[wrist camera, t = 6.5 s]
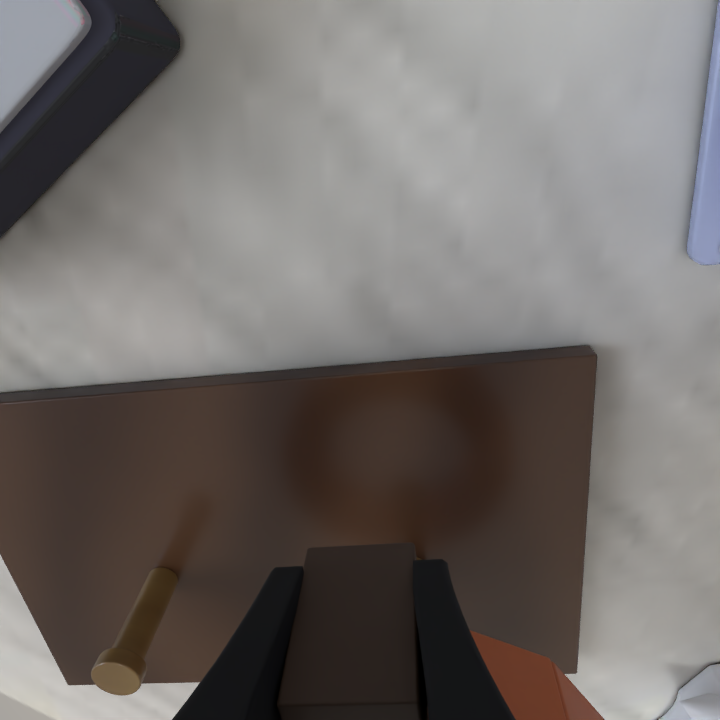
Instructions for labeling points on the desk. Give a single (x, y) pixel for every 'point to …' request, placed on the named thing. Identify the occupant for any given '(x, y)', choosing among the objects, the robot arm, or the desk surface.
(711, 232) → the robot arm
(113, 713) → the desk surface
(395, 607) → the ring
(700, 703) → the white multi hole holder
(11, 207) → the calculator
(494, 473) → the rack
